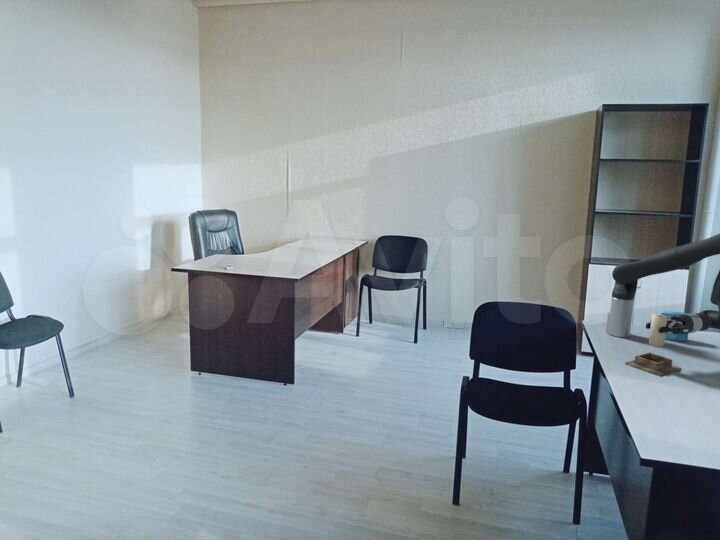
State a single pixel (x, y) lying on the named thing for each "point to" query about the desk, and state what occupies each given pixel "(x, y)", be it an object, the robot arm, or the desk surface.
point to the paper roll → (657, 329)
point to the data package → (669, 335)
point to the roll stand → (653, 364)
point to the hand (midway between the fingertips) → (653, 328)
